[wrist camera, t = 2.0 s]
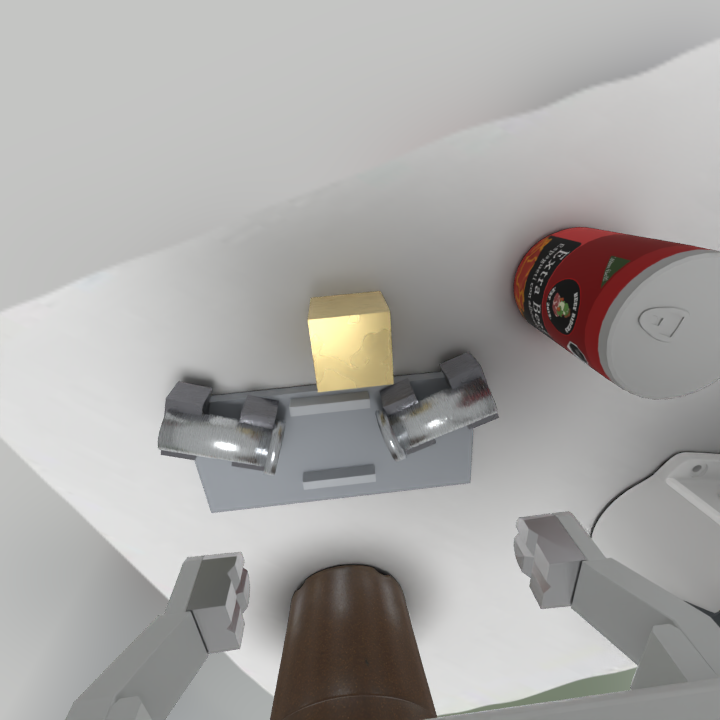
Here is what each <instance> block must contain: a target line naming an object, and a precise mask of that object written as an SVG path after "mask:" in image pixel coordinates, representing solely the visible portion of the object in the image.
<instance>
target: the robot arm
mask: <svg viewBox="0 0 720 720" xmlns="http://www.w3.org/2000/svg"><path fill="white" fill-rule="evenodd" d="M516 528H517V530H518V532H519V533H518V534H517V536H516V537H515V538H514V551H515V556H516V559H517V562H518V564H519V567H520V569H521V571H522V572H523V573H524V574H526V575H527V576H529V577H530V578H531V579H530V588H531V590H532V592H533V594H534V596H535V598H536V600H537V602H538V604H539V606H540V608H541V609H546V608H556V607H566V606H571V608H572V609H573V610H574V611H576V612H577V613H578V614H579V615H580V616H581V617H582V618H584V619H585V620H586V621H587V622H588V623H589V624H591V625H592V626H593V627H594V628H595V629H596V630H597V631H599V632H600V633H601V634H602V635H603V636H604V637H606V638H607V639H608V640H609V641H610V642H611V643H612V644H614V645H615V646H616V647H617V648H618V649H619V650H621V651H622V652H623V653H624V654H625V655H626V656H627V657H629V658H630V659H631V660H632V661H633V662H634V663H636V664H637V665H638V667H637V670H636V673H635V675H634V678H633V680H632V684H631V687H630V688H631V690H628V691H621V692H614V693H607V694H600V695H593V696H586V697H579V698H572V699H565V700H558V701H552V702H544V703H537V704H530V705H523V706H516V707H509V708H502V709H495V710H488V711H481V712H474V713H467V714H460V715H452V716H445V717H438V718H431V719H424V720H720V454H711V453H692V452H683V453H679V454H677V455H675V456H673V457H672V458H671V459H669V460H668V461H667V462H666V463H665V464H664V465H663V466H662V467H661V468H660V469H659V470H658V471H657V472H656V473H655V474H654V475H652V476H651V477H650V478H648V479H646V480H645V481H643V482H641V483H639V484H638V485H636V486H634V487H633V488H631V489H629V490H628V491H626V492H625V493H624V494H622V495H621V496H620V497H619V498H617V499H616V500H615V501H614V502H613V503H612V504H611V505H610V506H609V507H608V508H607V509H606V510H605V512H604V513H603V514H602V515H601V517H600V518H599V520H598V522H597V524H596V526H595V528H594V530H593V534H592V538H591V537H590V536H589V535H588V533H587V532H586V531H585V530H584V528H583V527H582V526H581V524H580V523H579V522H578V520H577V519H576V518H575V516H574V515H573V514H572V513H571V512H569V511H567V512H559V513H552V514H550V513H549V514H541V515H534V516H527V517H519V518H518V520H517V522H516ZM243 565H244V557H243V554H242V552H235V553H224V554H214V555H204V556H195V557H187V559H186V560H185V561H184V563H183V565H182V568H181V570H180V573H179V576H178V578H177V581H176V584H175V586H174V589H173V592H172V594H171V597H170V600H169V602H168V605H167V608H166V610H165V613H164V614H163V615H158V616H157V617H156V618H155V620H154V621H153V622H152V623H150V625H149V626H148V627H147V628H146V629H145V630H144V631H143V632H142V633H141V634H140V635H139V636H138V637H137V638H136V639H135V640H134V641H133V642H132V643H131V644H130V645H129V646H128V647H127V648H126V649H125V650H124V651H123V652H122V654H120V655H119V656H118V657H117V658H116V659H115V660H114V662H113V663H112V664H111V665H110V666H109V667H108V668H107V669H106V670H105V671H104V672H103V673H102V674H101V675H100V676H99V677H98V678H97V679H96V680H95V681H94V682H93V683H92V684H91V685H90V686H89V687H88V688H87V689H86V690H85V691H84V692H83V693H82V694H81V695H80V696H79V697H78V699H77V700H76V701H75V702H74V703H73V705H72V707H71V709H70V711H69V713H68V715H67V717H66V719H65V720H165V719H166V718H167V716H168V715H169V713H170V712H171V710H172V709H173V707H174V706H175V705H176V703H177V702H178V700H179V699H180V697H181V696H182V694H183V693H184V691H185V690H186V688H187V687H188V685H189V684H190V683H191V681H192V680H193V678H194V677H195V675H196V674H197V672H198V671H199V669H200V668H201V666H202V665H203V663H204V662H205V660H206V659H207V658H208V654H210V653H218V652H224V651H230V650H236V649H240V647H241V641H242V636H243V631H244V625H245V622H244V619H243V615H242V613H243V612H244V611H245V610H246V608H247V607H248V603H249V597H250V580H249V574H248V571H247V570H246V569H244V568H243Z"/></svg>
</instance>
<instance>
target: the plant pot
mask: <svg viewBox="0 0 720 720" xmlns="http://www.w3.org/2000/svg"><path fill="white" fill-rule="evenodd" d="M431 718H437V715H436V711H435V708H434V704H433V701H432V697H431V693H430V690H429V686H428V683H427V679H426V676H425V672H424V669H423V665H422V662H421V658H420V654H419V651H418V647H417V643H416V640H415V636H414V632H413V629H412V625H411V621H410V617H409V613H408V610H407V606H406V602H405V598H404V594H403V591H402V589H401V587H400V585H399V584H398V582H397V581H396V580H395V579H394V578H393V577H391V576H390V575H386V576H384V575H382V574H380V573H379V572H377V571H376V570H375V569H374V568H373V567H369V566H362V565H345V566H337V567H333V568H329V569H325V570H323V571H320V572H317V573H315V574H314V575H312V576H310V577H309V578H307V579H306V580H305V582H304V584H303V585H302V587H301V588H300V589H299V590H297V591H295V593H294V595H293V598H292V601H291V606H290V613H289V620H288V625H287V631H286V636H285V641H284V647H283V653H282V658H281V664H280V669H279V674H278V680H277V685H276V691H275V696H274V701H273V707H272V712H271V718H270V720H424V719H431Z"/></svg>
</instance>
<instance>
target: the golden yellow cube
mask: <svg viewBox="0 0 720 720" xmlns="http://www.w3.org/2000/svg"><path fill="white" fill-rule="evenodd" d="M308 326H309V333H310V340H311V347H312V354H313V361H314V368H315V375H316V382H317V389H318V392H325V391H335V390H344V389H354V388H363V387H373V386H382V385H391V384H394V380H393V360H392V339H391V318H390V310H389V308H388V306H387V304H386V302H385V300H384V298H383V296H382V294H381V292H380V291H375V292H364V293H354V294H344V295H334V296H323V297H313V298H311V300H310V307H309V314H308Z"/></svg>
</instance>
